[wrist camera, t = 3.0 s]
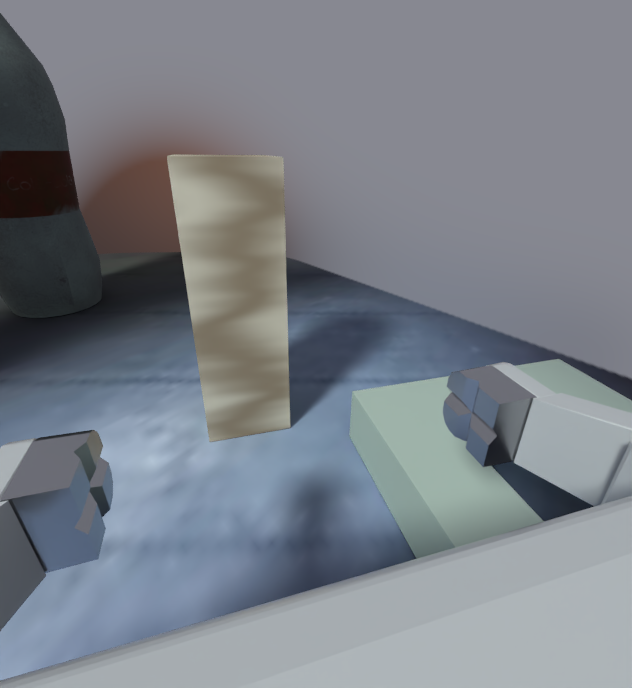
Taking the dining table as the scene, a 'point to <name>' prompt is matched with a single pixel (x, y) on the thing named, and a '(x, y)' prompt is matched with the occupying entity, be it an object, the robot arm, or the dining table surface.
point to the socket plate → (447, 459)
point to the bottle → (39, 196)
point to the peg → (236, 287)
